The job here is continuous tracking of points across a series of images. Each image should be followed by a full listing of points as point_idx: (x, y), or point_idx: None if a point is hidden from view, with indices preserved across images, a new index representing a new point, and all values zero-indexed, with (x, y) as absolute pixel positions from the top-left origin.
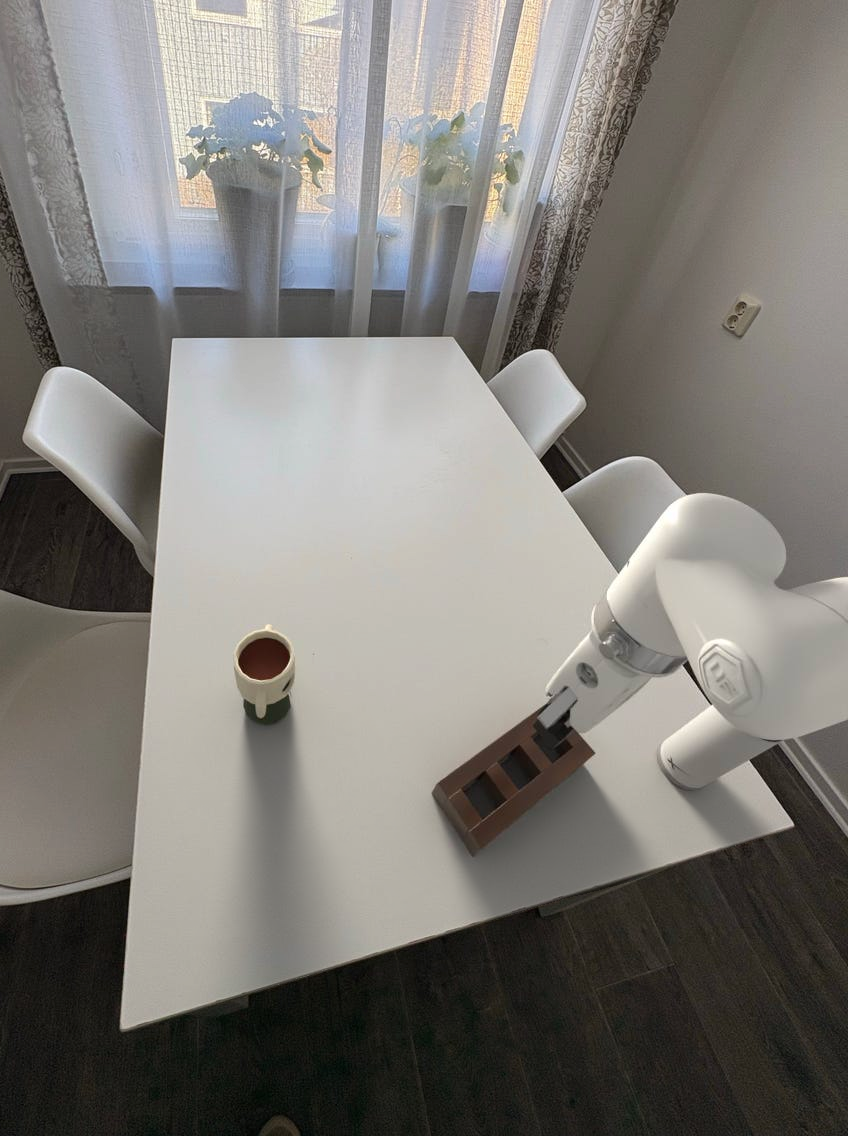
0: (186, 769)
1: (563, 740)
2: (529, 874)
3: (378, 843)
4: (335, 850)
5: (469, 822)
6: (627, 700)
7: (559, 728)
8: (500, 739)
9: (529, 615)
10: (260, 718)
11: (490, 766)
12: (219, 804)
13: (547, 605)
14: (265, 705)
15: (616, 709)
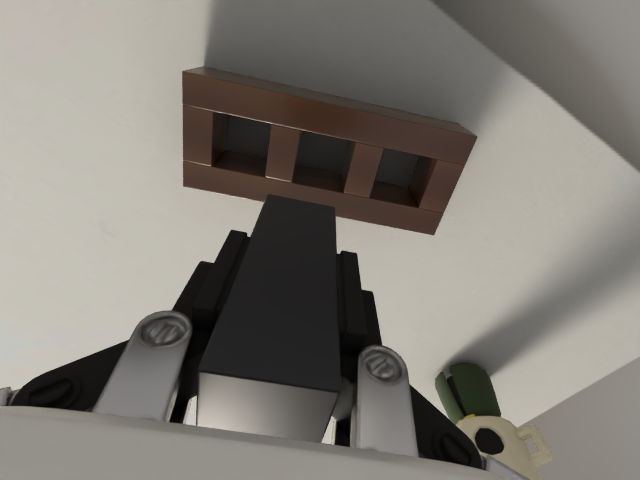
0: (560, 378)
1: (297, 202)
2: (423, 39)
3: (516, 220)
4: (551, 248)
5: (453, 171)
6: (124, 477)
7: (369, 315)
8: None
9: (96, 263)
10: (490, 383)
11: (357, 195)
12: (572, 344)
13: (53, 255)
14: (522, 433)
15: (250, 463)
